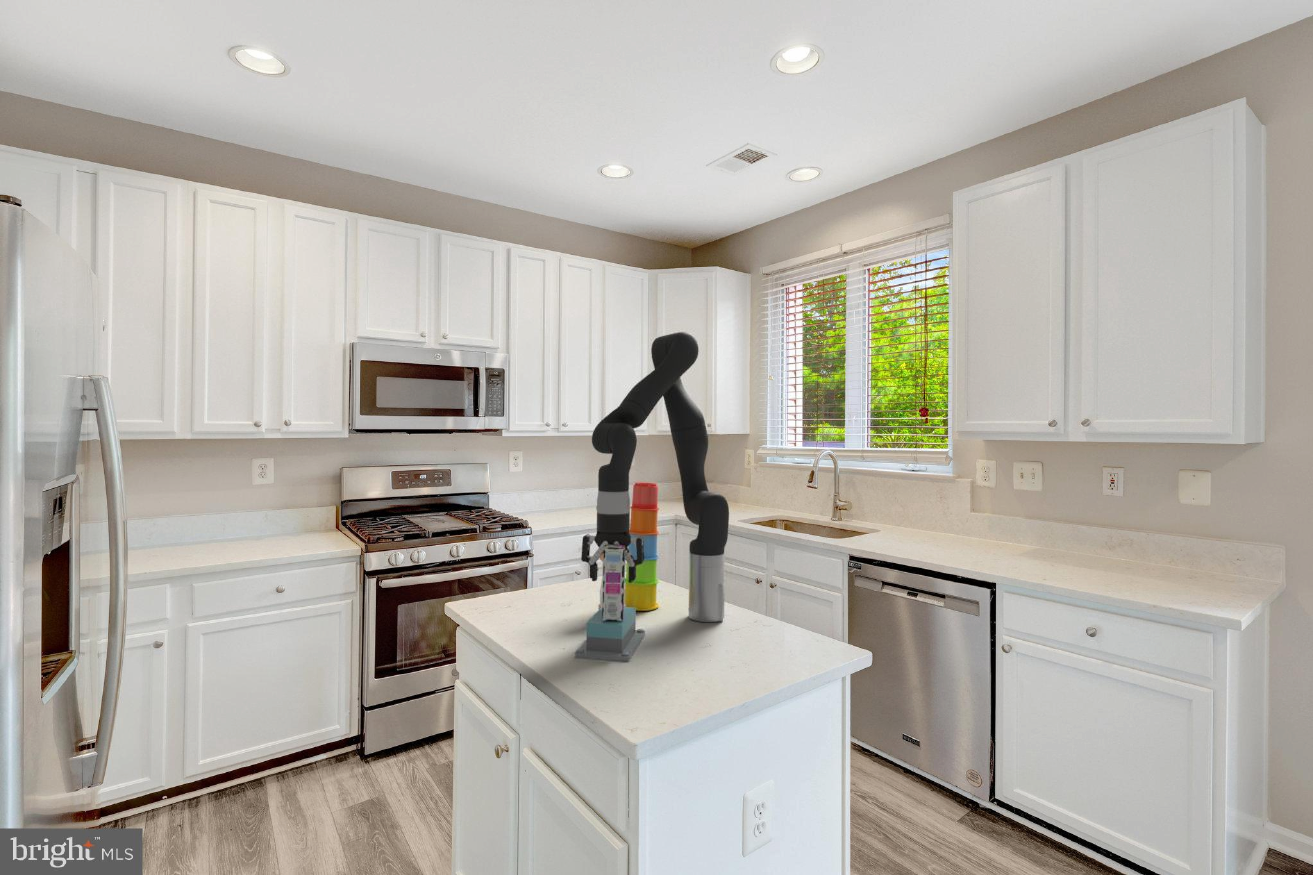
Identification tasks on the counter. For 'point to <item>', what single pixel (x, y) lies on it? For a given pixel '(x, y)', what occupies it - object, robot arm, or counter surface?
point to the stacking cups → (644, 525)
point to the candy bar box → (613, 583)
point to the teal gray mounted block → (611, 638)
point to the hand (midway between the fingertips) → (612, 581)
